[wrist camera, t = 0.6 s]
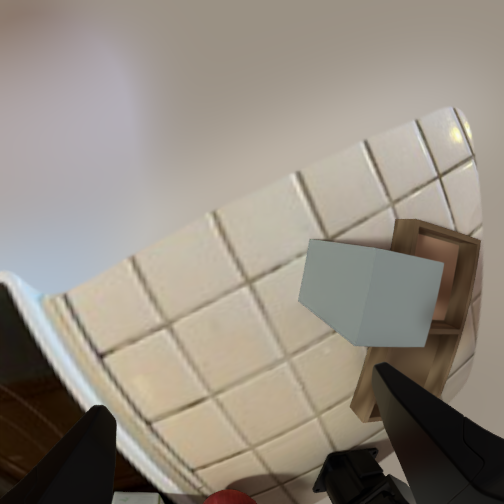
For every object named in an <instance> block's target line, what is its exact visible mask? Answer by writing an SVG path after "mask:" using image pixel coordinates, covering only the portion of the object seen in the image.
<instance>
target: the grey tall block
mask: <svg viewBox="0 0 504 504" xmlns="http://www.w3.org/2000/svg"><path fill="white" fill-rule="evenodd" d="M443 267H444V263H442V262H438V261H434V260H429V259H425V258H420V257H416V256H411V255H407V254H402V253H397V252H393V251H388V250H383V249H379V248H373V247H365V246H358V245H351V244H343V243H336V242H328V241H321V240H313V239H310V241H309V246H308V252H307V257H306V263H305V268H304V273H303V279H302V284H301V289H300V294H299V299H298V301H299V302H300V303H301V304H303V305H304V306H305V307H306V308H308V309H309V310H310V311H311V312H313V313H314V314H315V315H316V316H318V317H319V318H320V319H321V320H323V321H324V322H325V323H326V324H328V325H329V326H330V327H331V328H333V329H334V330H335V331H336V332H338V333H339V334H340V335H341V336H343V337H344V338H345V339H347V340H348V341H349V342H350V343H352V344H353V345H354V346H369V347H424V346H425V343H426V339H427V336H428V332H429V329H430V325H431V321H432V317H433V313H434V309H435V305H436V301H437V297H438V292H439V287H440V282H441V277H442V272H443Z"/></svg>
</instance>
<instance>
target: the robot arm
mask: <svg viewBox="0 0 504 504" xmlns="http://www.w3.org/2000/svg"><path fill="white" fill-rule="evenodd" d="M371 384H372V389H373V392H374V395H375V398H376V401H377V405H378V408H379V411H380V415H381V418H382V421H383V424H384V427H385V430H386V432H387V434H388V437H389V439H390V441H391V443H392V446H393V448H394V450H395V453H396V455H397V457H398V460H399V462H400V464H401V467H402V469H403V471H404V474H405V476H406V479H407V481H408V484H409V486H410V487H409V486H408V485H407V484H406V483H404V482H402V481H401V480H399V479H397V478H395V477H393V476H392V475H390V474H388V475H387V476H385V475H384V474H383V469H382V468H381V467H380V466H379V464H378V463H377V462H376V460H375V458H376V456H377V454H378V449H377V448H371V449H364V450H357V451H350V452H341V453H332V454H329V455H328V456H327V458H326V460H325V462H324V465H323V467H322V469H321V471H320V474H319V476H318V478H317V480H316V482H315V485H314V487H313V492H314V493H318V492H327V494H328V496H329V498H330V500H331V502H332V504H504V439H503V438H501V437H499V436H497V435H495V434H493V433H491V432H489V431H487V430H486V429H484V428H482V427H481V426H479V425H478V424H476V423H474V422H473V421H471V420H470V419H468V418H467V417H464V416H463V415H462V414H461V413H459V412H458V411H456V410H455V409H454V408H452V407H451V406H449V405H448V404H446V403H445V402H443V401H442V400H441V399H439V398H438V397H436V396H435V395H433V394H432V393H430V392H429V391H427V390H426V389H425V388H423V387H422V386H420V385H419V384H417V383H416V382H415V381H413V380H412V379H410V378H409V377H407V376H406V375H404V374H403V373H402V372H400V371H399V370H397V369H396V368H394V367H393V366H392V365H390V364H389V363H387V362H381V363H378V364H375V365H374V366H373V370H372V379H371ZM116 429H117V423H116V419H115V418H114V416H113V415H112V414H111V413H110V411H109V410H108V409H107V408H106V407H105V406H104V405H94V406H92V407H91V408H90V409H89V410H88V411H87V412H86V414H85V415H84V416H83V417H82V418H81V419H80V420H79V421H78V422H77V423H76V424H75V425H74V426H73V427H72V428H71V429H70V430H69V431H68V432H67V433H66V434H65V435H64V436H63V438H62V439H61V440H60V441H59V442H58V443H57V444H56V445H55V446H54V447H53V448H52V449H51V450H50V451H49V452H48V453H47V454H46V455H45V456H44V457H43V459H42V460H41V461H40V462H39V463H38V464H37V466H35V467H34V468H33V469H32V470H31V471H30V472H29V473H28V474H27V475H26V476H25V477H24V478H23V479H22V480H21V481H20V482H19V483H18V484H16V485H15V486H14V487H13V488H12V489H11V490H9V491H8V492H7V493H6V494H5V495H4V496H2V497H1V498H0V504H112V492H113V481H114V472H115V462H116Z"/></svg>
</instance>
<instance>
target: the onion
mask: <svg viewBox="0 0 504 504" xmlns="http://www.w3.org/2000/svg"><path fill="white" fill-rule="evenodd" d="M203 504H257V503H256V501H255V500H253V499H252V498H250V497H249V496H248V495H247V494H246V493H243V492H240V491H238V490H232V489H227V490H221V491H218V492H216V493H214V494H212V495H210V496H209V497H208V498H207V499H206V500H205V502H204V503H203Z"/></svg>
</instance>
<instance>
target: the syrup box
mask: <svg viewBox="0 0 504 504" xmlns="http://www.w3.org/2000/svg"><path fill="white" fill-rule="evenodd" d="M112 504H165V503H164V501H163V500H162V498H161V496H160V495H159V493H144V492H115V493H114V497H113V501H112Z"/></svg>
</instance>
